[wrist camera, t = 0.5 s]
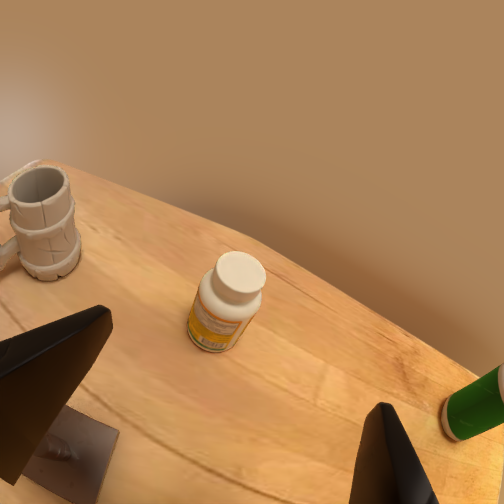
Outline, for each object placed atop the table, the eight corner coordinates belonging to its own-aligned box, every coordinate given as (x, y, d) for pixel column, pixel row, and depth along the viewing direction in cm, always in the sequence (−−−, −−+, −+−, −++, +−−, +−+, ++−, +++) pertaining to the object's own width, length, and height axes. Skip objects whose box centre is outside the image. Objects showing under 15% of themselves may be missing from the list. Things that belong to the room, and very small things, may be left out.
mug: (92, 268, 29) (86, 174, 21) (-1, 307, 21) (-44, 220, 13) (71, 223, 32) (65, 135, 23) (-12, 255, 24) (-40, 169, 16)
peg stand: (95, 510, 14) (77, 523, 9) (10, 463, 13) (-28, 455, 8) (119, 431, 19) (111, 418, 15) (39, 390, 19) (10, 361, 14)
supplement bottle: (202, 361, 27) (229, 310, 20) (177, 316, 29) (193, 252, 22) (248, 341, 30) (287, 287, 23) (222, 300, 32) (250, 238, 26)
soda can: (446, 452, 25) (522, 419, 17) (431, 406, 30) (502, 364, 22) (471, 431, 28) (536, 397, 20) (456, 390, 33) (518, 351, 25)
